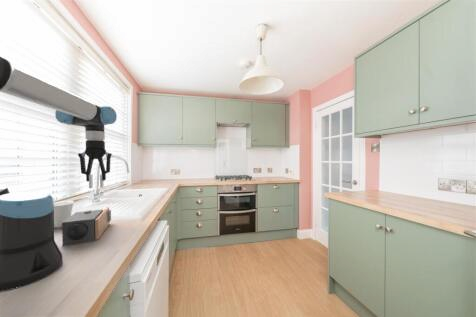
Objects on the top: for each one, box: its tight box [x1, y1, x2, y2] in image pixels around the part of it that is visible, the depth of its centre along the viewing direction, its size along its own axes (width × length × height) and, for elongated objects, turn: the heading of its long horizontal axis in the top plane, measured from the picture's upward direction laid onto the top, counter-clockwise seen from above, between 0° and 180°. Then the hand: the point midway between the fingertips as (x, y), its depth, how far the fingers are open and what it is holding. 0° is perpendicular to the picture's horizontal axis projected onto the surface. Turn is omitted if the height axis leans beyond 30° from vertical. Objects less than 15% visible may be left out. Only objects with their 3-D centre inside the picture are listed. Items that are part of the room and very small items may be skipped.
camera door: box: [95, 206, 112, 240], centre depth 85 cm, size 20×2×8 cm, turn 24°
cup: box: [53, 200, 75, 229], centre depth 92 cm, size 10×10×11 cm
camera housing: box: [61, 209, 104, 247], centre depth 79 cm, size 16×10×10 cm, turn 24°
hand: (96, 187), depth 92 cm, fingers open, 4 cm apart
